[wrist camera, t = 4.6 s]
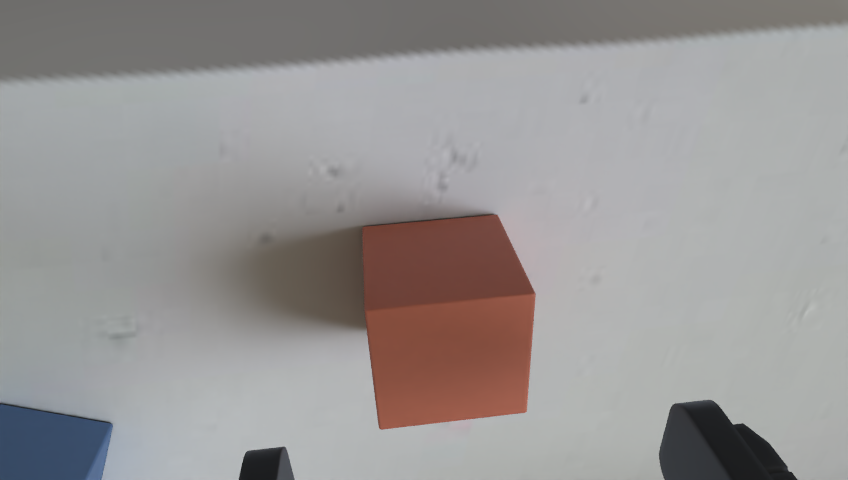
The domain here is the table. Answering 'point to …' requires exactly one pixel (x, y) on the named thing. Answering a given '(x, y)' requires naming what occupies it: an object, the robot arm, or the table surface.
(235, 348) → the table surface
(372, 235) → the terracotta block
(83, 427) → the slate-blue block
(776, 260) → the table surface
